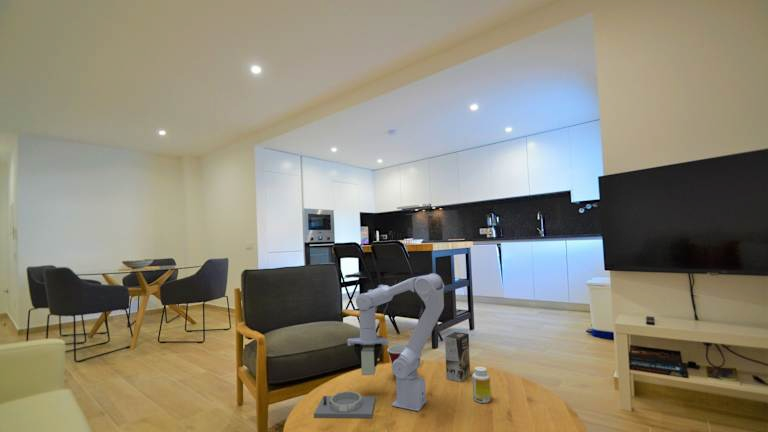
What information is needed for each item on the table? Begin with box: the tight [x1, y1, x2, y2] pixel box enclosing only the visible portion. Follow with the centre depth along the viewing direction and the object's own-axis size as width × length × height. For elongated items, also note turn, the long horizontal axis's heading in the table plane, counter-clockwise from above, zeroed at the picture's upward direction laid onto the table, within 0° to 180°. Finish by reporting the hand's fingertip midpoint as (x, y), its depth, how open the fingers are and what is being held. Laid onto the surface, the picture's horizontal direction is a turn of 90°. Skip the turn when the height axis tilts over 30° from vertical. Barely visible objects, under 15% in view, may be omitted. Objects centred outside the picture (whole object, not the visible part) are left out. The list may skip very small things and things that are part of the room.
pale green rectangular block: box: [361, 347, 377, 376], centre depth 124 cm, size 4×5×8 cm
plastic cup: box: [386, 343, 408, 380], centre depth 136 cm, size 11×11×12 cm
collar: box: [322, 390, 363, 412], centre depth 113 cm, size 13×10×2 cm
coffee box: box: [444, 331, 471, 383], centre depth 136 cm, size 9×6×16 cm
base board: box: [313, 395, 377, 419], centre depth 113 cm, size 18×12×1 cm, turn 86°
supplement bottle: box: [471, 366, 491, 404], centre depth 117 cm, size 6×6×10 cm
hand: (368, 365), depth 123 cm, fingers closed on pale green rectangular block, 4 cm apart
